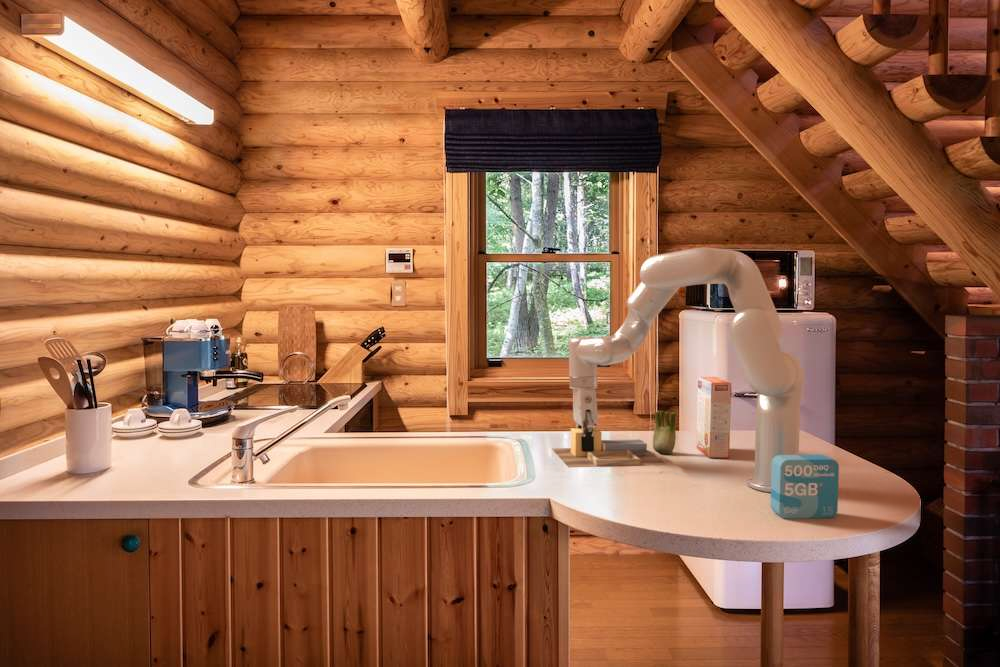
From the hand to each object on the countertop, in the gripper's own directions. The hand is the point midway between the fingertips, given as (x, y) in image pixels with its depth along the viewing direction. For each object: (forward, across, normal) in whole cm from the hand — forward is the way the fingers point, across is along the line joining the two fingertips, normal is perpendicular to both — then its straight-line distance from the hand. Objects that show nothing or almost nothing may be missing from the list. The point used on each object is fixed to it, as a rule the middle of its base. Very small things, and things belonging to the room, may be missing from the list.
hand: (584, 448), depth 199 cm
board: (+3, -3, -5) cm, 7 cm away
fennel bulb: (+4, +4, -23) cm, 24 cm away
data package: (+5, -54, -33) cm, 63 cm away
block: (+2, 0, 0) cm, 2 cm away
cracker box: (+4, +3, -37) cm, 38 cm away
